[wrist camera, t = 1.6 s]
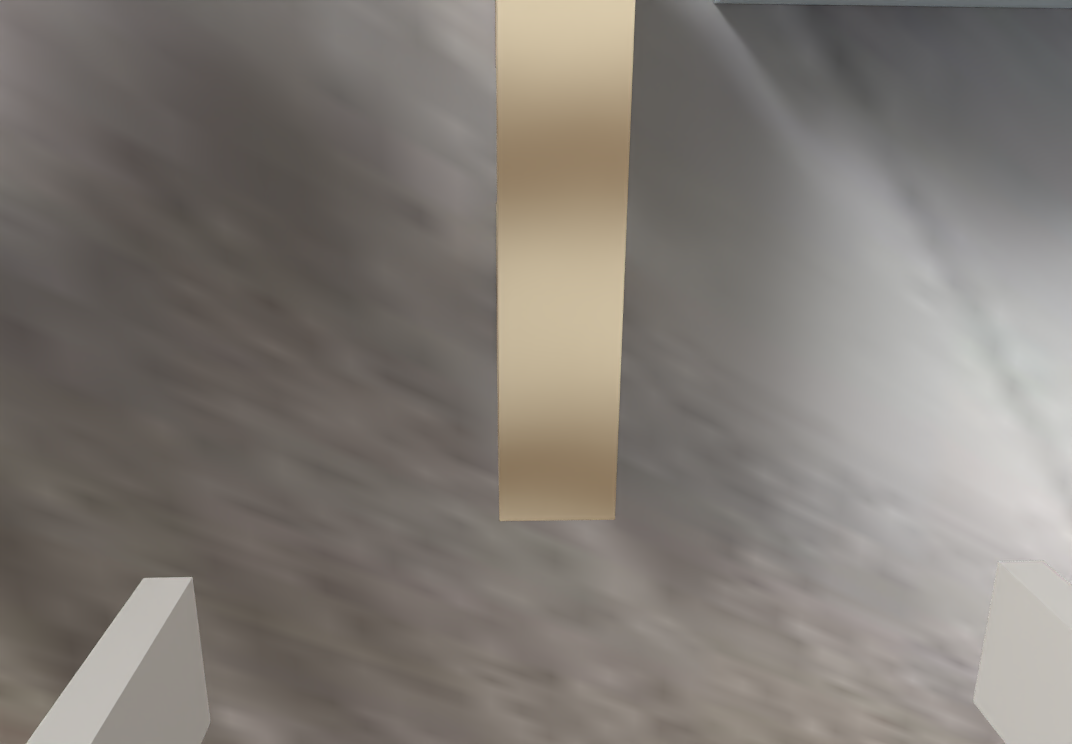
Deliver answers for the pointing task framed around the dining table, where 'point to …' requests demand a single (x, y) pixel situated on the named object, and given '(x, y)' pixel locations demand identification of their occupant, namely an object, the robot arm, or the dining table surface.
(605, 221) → the maple board
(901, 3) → the slate board
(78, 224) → the dining table surface
